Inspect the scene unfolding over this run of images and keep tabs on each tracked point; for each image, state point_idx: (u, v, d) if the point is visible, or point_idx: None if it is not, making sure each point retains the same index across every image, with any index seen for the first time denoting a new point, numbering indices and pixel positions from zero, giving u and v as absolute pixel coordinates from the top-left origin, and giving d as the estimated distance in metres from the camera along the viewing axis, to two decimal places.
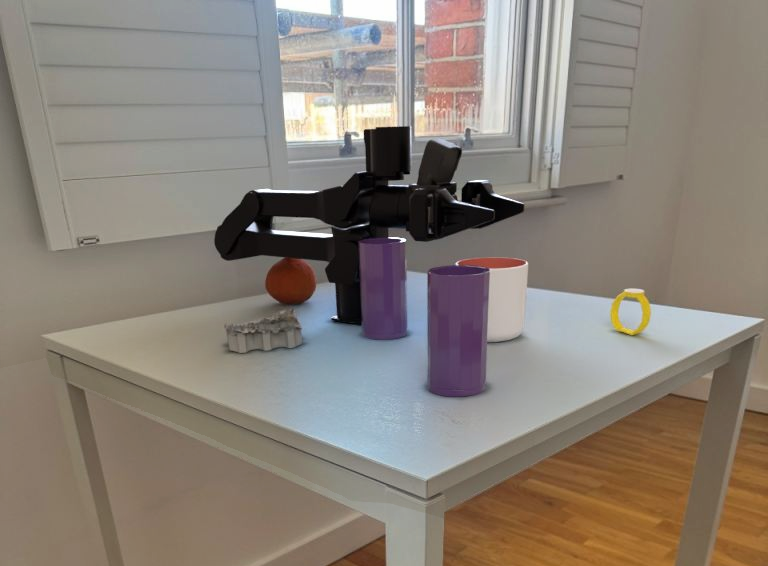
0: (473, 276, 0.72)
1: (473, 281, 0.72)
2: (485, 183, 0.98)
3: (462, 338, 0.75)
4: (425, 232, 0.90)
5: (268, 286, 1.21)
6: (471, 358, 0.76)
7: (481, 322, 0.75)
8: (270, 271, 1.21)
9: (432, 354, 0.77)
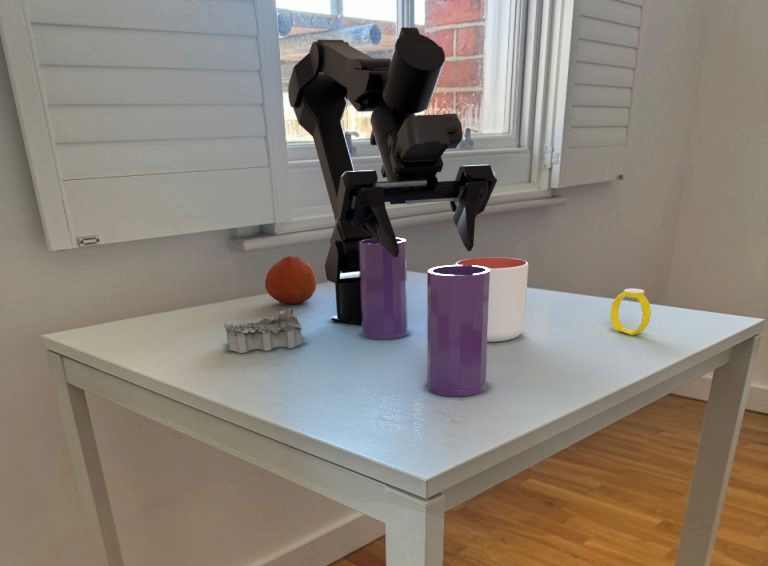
0: (473, 276, 0.72)
1: (473, 281, 0.72)
2: (474, 184, 0.82)
3: (462, 338, 0.75)
4: (341, 216, 0.83)
5: (268, 286, 1.21)
6: (471, 358, 0.76)
7: (481, 322, 0.75)
8: (270, 271, 1.21)
9: (432, 354, 0.77)
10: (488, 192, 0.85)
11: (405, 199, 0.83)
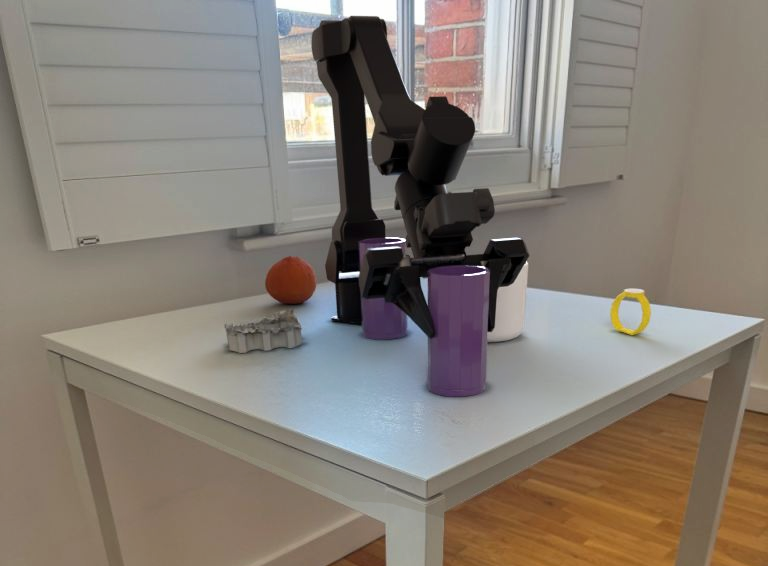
0: (473, 276, 0.72)
1: (473, 281, 0.72)
2: (497, 261, 0.77)
3: (462, 338, 0.75)
4: (364, 293, 0.78)
5: (268, 286, 1.21)
6: (471, 358, 0.76)
7: (481, 322, 0.75)
8: (270, 271, 1.21)
9: (432, 354, 0.77)
10: (519, 266, 0.80)
11: None
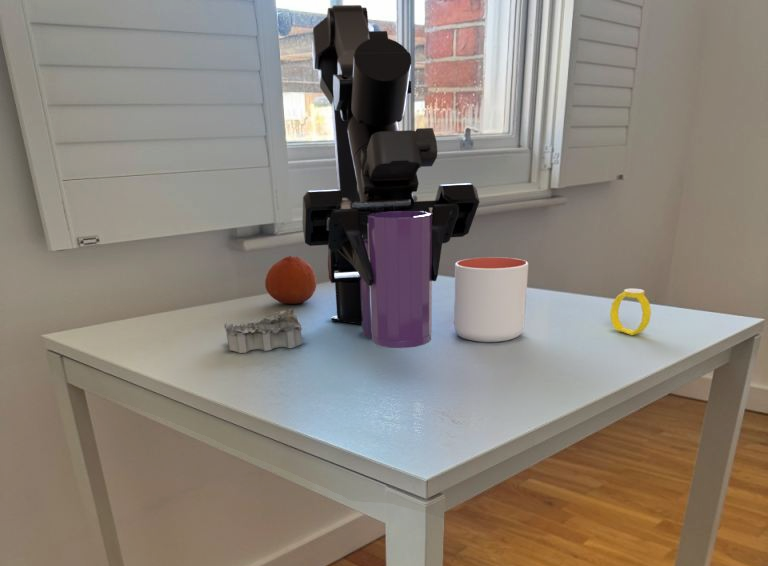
0: (409, 219, 0.69)
1: (409, 224, 0.69)
2: (442, 206, 0.74)
3: (400, 285, 0.72)
4: (306, 238, 0.76)
5: (268, 286, 1.21)
6: (411, 307, 0.73)
7: (421, 269, 0.72)
8: (270, 271, 1.21)
9: (372, 303, 0.75)
10: (471, 214, 0.76)
11: None
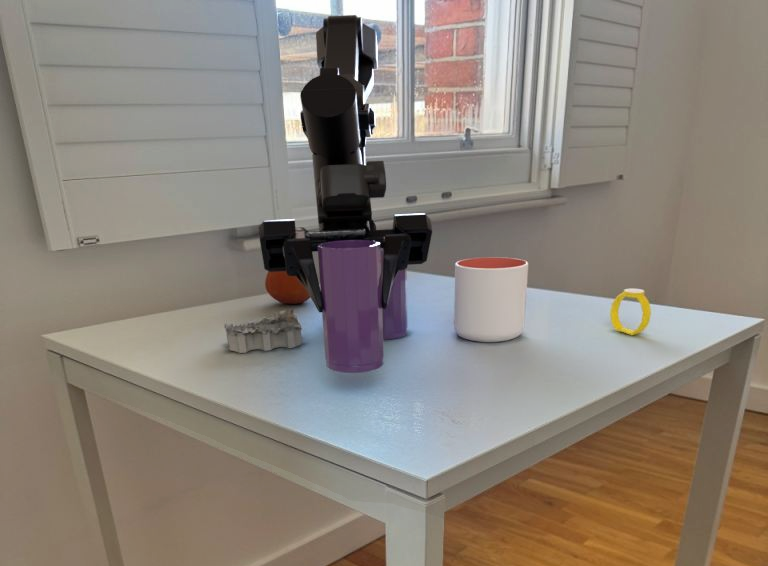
0: (354, 250, 0.71)
1: (354, 255, 0.71)
2: (394, 236, 0.75)
3: (347, 312, 0.74)
4: (265, 265, 0.79)
5: (268, 286, 1.21)
6: (359, 334, 0.75)
7: (368, 297, 0.74)
8: None
9: (324, 328, 0.77)
10: (425, 243, 0.78)
11: None
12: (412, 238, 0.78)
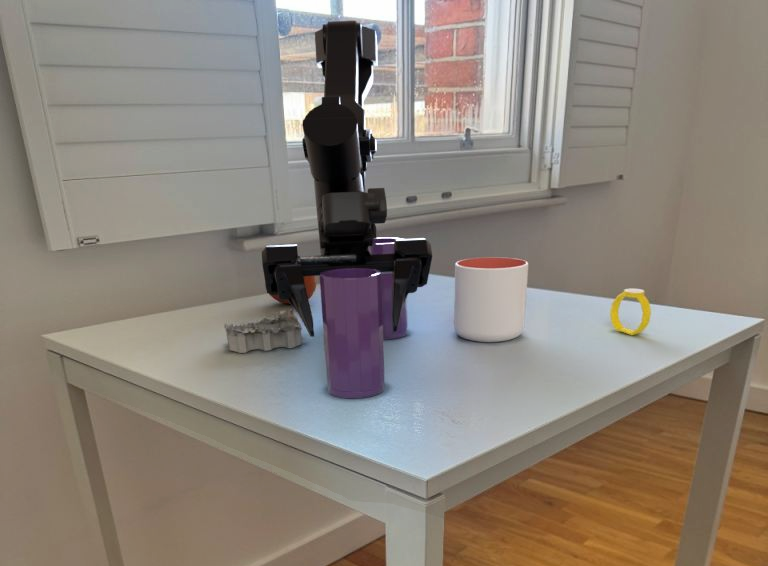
0: (355, 279, 0.72)
1: (355, 284, 0.73)
2: (404, 261, 0.76)
3: (348, 340, 0.75)
4: (267, 289, 0.80)
5: None
6: (360, 361, 0.76)
7: (369, 325, 0.75)
8: None
9: (326, 355, 0.78)
10: (426, 267, 0.79)
11: None
12: None
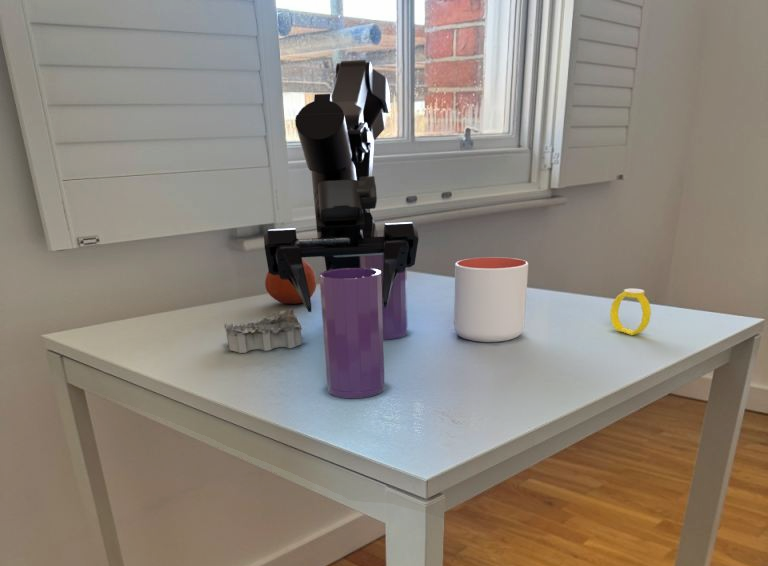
0: (355, 279, 0.72)
1: (355, 284, 0.73)
2: (393, 243, 0.84)
3: (348, 340, 0.75)
4: (269, 269, 0.88)
5: (268, 286, 1.21)
6: (360, 361, 0.76)
7: (369, 325, 0.75)
8: None
9: (326, 355, 0.78)
10: (413, 248, 0.87)
11: (330, 254, 0.87)
12: None
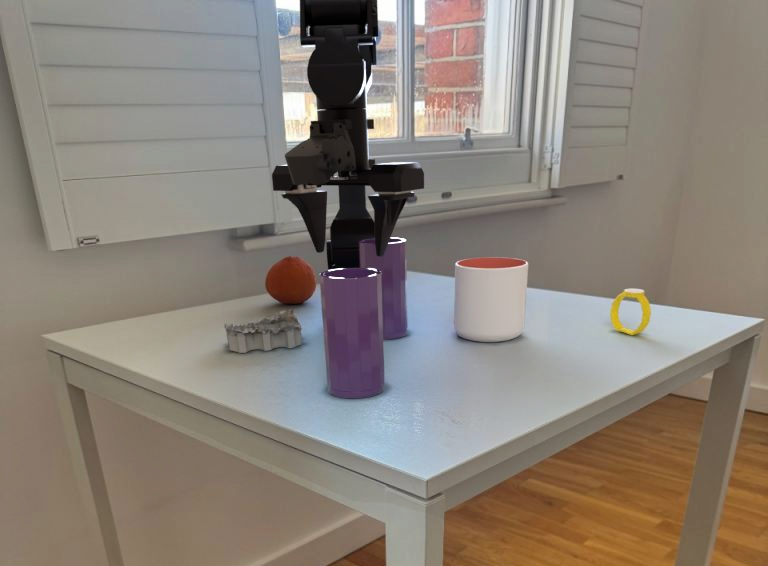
0: (355, 279, 0.72)
1: (355, 284, 0.73)
2: (375, 198, 0.79)
3: (348, 340, 0.75)
4: None
5: (268, 286, 1.21)
6: (360, 361, 0.76)
7: (369, 325, 0.75)
8: (270, 271, 1.21)
9: (326, 355, 0.78)
10: None
11: None
12: None
